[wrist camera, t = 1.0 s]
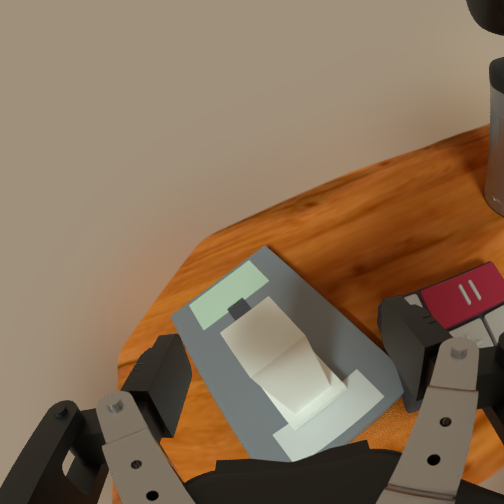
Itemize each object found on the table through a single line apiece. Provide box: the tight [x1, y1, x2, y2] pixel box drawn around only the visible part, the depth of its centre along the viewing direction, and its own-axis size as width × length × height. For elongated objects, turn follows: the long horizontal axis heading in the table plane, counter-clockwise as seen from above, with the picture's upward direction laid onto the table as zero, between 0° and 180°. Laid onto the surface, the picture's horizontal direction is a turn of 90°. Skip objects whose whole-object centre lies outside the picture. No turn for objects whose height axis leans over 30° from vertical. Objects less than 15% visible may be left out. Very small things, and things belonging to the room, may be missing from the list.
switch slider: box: [220, 296, 347, 430], centre depth 22 cm, size 6×6×12 cm
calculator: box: [377, 261, 504, 413], centre depth 23 cm, size 11×4×15 cm
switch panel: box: [171, 246, 404, 462], centre depth 31 cm, size 16×26×2 cm, turn 32°
